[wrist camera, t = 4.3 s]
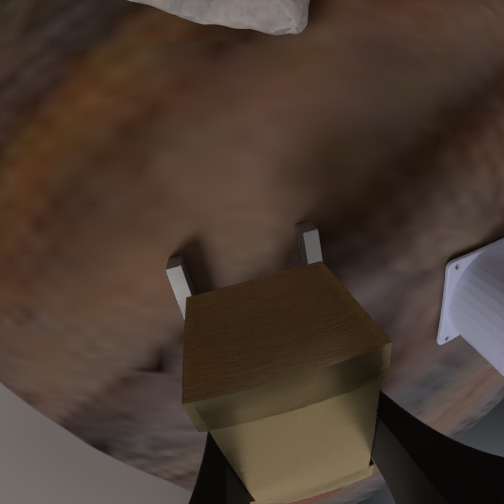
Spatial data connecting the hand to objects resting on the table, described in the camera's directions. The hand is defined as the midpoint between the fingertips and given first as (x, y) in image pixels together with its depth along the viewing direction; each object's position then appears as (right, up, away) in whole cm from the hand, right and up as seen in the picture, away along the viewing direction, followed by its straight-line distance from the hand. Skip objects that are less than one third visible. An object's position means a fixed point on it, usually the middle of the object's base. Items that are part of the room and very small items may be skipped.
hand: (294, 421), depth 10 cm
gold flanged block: (-1, +2, +3) cm, 3 cm away
